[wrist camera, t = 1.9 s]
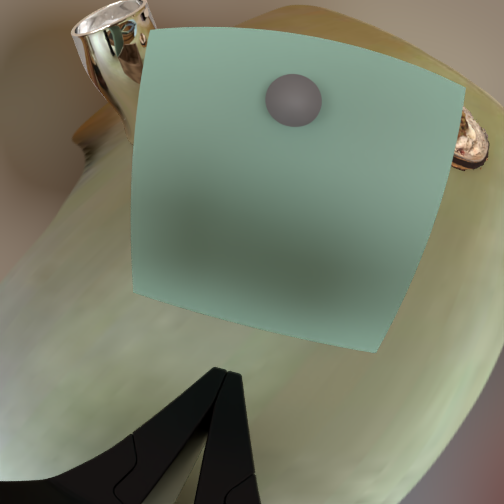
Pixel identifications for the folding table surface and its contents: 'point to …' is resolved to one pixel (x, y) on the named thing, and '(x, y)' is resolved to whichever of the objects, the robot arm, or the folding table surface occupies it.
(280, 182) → the lid
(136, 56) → the beer glass
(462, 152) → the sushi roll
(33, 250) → the folding table surface
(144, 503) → the robot arm
